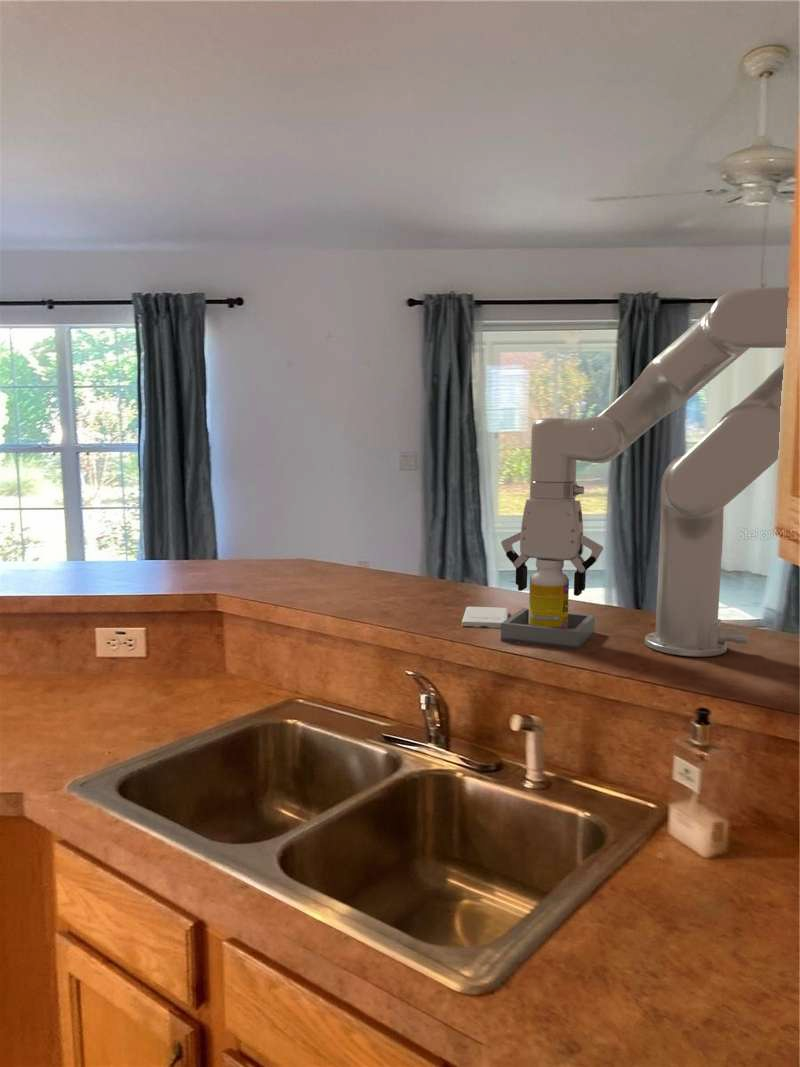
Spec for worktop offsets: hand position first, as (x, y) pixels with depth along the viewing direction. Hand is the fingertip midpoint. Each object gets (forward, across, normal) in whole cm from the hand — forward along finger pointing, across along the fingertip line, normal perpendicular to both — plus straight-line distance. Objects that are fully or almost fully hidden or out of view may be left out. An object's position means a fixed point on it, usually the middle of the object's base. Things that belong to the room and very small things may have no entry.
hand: (549, 591), depth 134 cm
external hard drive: (+9, +14, -7) cm, 18 cm away
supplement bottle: (+7, 0, 0) cm, 7 cm away
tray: (+8, 0, 0) cm, 8 cm away
